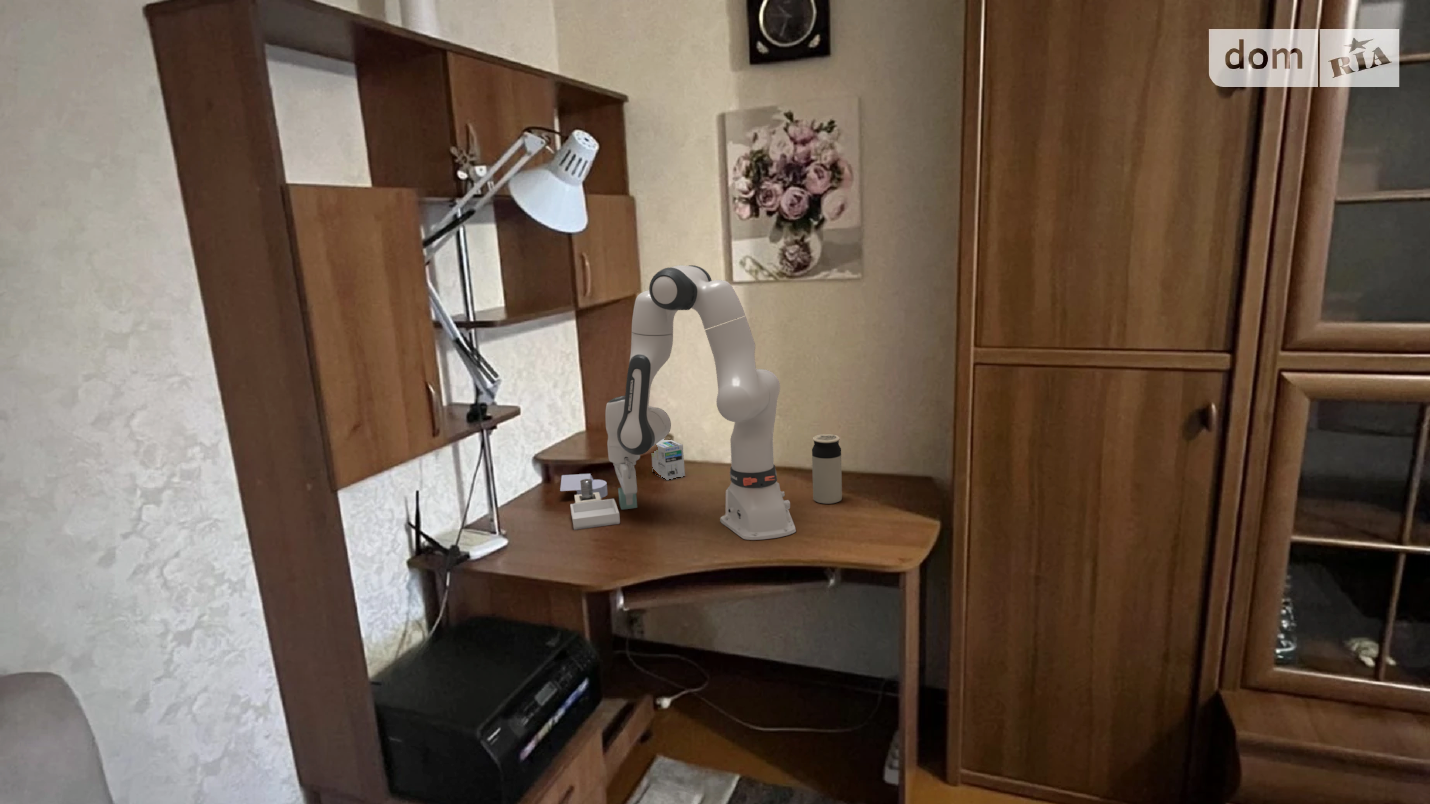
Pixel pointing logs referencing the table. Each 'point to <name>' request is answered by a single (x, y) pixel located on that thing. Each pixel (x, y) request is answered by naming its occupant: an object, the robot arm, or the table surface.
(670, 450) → the light bulb box
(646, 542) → the table surface
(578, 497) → the socket block
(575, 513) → the tray
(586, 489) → the pin
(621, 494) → the block
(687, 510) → the table surface
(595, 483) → the wedge on round base
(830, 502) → the travel mug
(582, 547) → the table surface
